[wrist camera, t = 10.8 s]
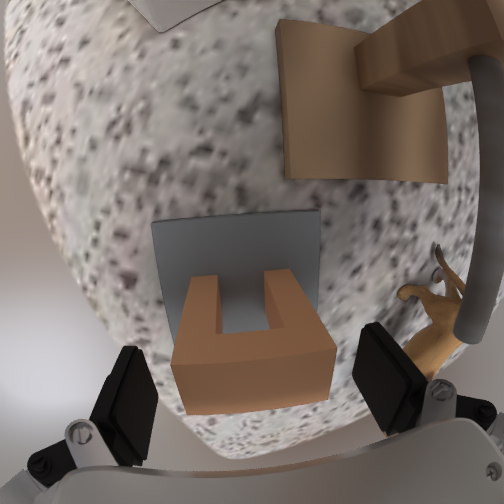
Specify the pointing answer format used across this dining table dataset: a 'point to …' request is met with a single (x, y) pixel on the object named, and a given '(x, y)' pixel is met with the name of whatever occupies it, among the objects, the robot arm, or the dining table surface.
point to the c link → (251, 352)
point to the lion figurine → (435, 321)
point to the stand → (402, 114)
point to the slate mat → (236, 260)
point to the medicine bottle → (169, 11)
